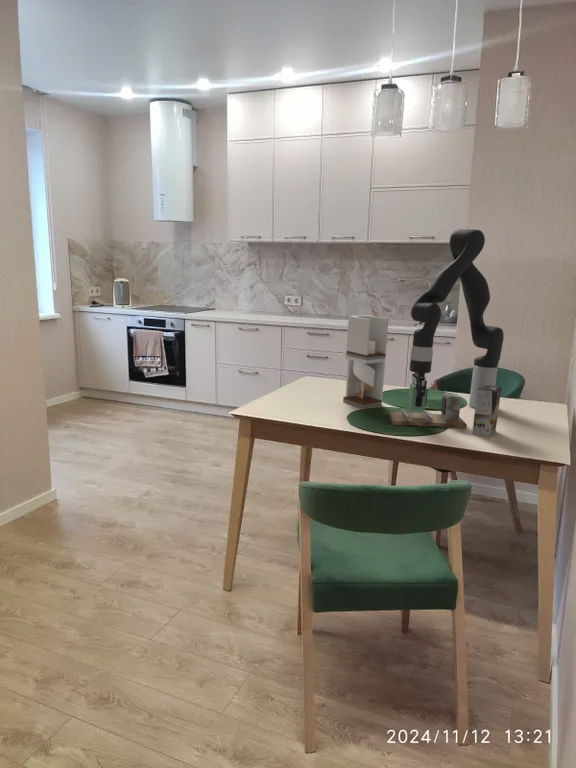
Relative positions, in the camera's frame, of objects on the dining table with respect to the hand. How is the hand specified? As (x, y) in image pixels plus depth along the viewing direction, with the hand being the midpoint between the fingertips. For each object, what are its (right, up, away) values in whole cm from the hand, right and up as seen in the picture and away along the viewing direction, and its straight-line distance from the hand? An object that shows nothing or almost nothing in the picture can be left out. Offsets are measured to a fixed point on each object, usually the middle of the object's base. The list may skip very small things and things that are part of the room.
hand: (416, 404), depth 203 cm
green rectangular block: (0, -2, 0) cm, 2 cm away
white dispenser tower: (-17, -1, +24) cm, 29 cm away
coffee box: (+22, -10, -9) cm, 25 cm away
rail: (+4, -6, +1) cm, 8 cm away
